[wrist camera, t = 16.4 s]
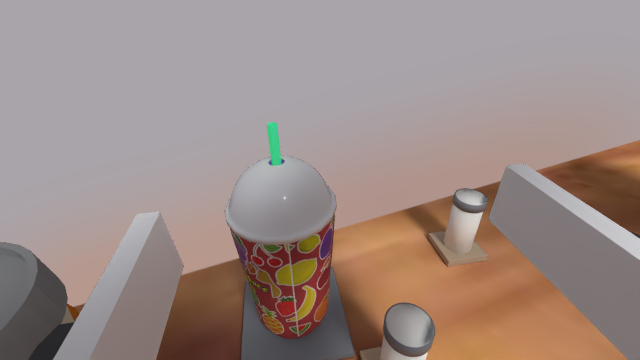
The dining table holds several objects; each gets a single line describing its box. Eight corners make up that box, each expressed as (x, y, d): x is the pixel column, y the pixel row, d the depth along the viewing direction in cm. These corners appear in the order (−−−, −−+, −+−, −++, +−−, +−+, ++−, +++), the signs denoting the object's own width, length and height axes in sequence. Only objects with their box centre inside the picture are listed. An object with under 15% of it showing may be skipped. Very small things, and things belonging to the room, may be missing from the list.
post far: (462, 232, 40) (477, 182, 35) (486, 260, 35) (506, 207, 31) (427, 237, 39) (438, 187, 35) (447, 266, 35) (463, 213, 31)
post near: (412, 345, 27) (426, 288, 23) (439, 408, 23) (462, 354, 19) (359, 355, 27) (364, 299, 22) (377, 422, 22) (387, 368, 18)
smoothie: (246, 292, 32) (202, 113, 21) (318, 269, 34) (311, 98, 24) (261, 369, 25) (208, 165, 15) (349, 334, 28) (359, 137, 17)
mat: (332, 270, 35) (332, 266, 35) (354, 356, 26) (354, 352, 26) (246, 283, 34) (245, 279, 33) (240, 377, 25) (239, 374, 25)
